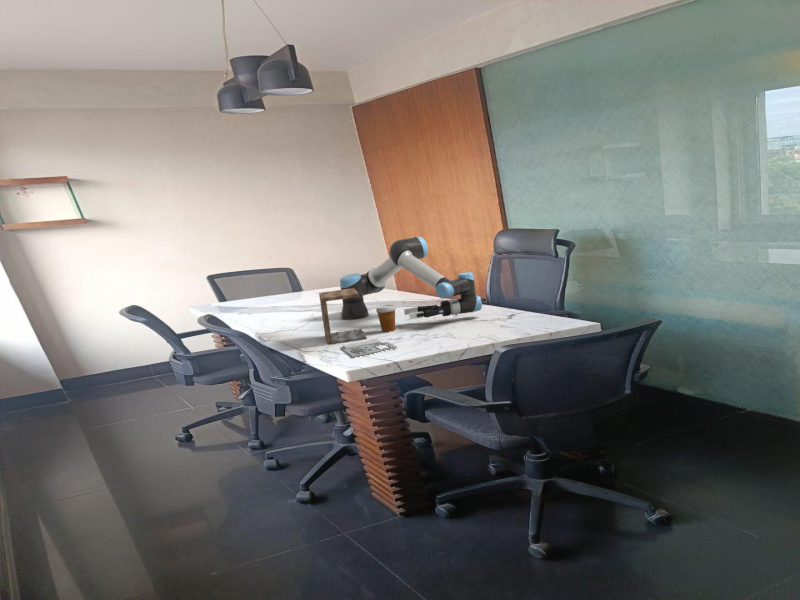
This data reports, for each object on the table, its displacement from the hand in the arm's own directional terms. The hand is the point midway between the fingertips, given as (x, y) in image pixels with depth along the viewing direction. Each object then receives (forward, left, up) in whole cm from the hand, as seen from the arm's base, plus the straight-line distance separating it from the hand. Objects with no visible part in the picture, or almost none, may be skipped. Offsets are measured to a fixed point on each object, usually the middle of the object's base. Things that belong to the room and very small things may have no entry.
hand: (406, 314), depth 325 cm
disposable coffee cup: (+9, -3, -7) cm, 12 cm away
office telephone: (+33, +22, -8) cm, 40 cm away
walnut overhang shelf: (+29, -11, -7) cm, 31 cm away
